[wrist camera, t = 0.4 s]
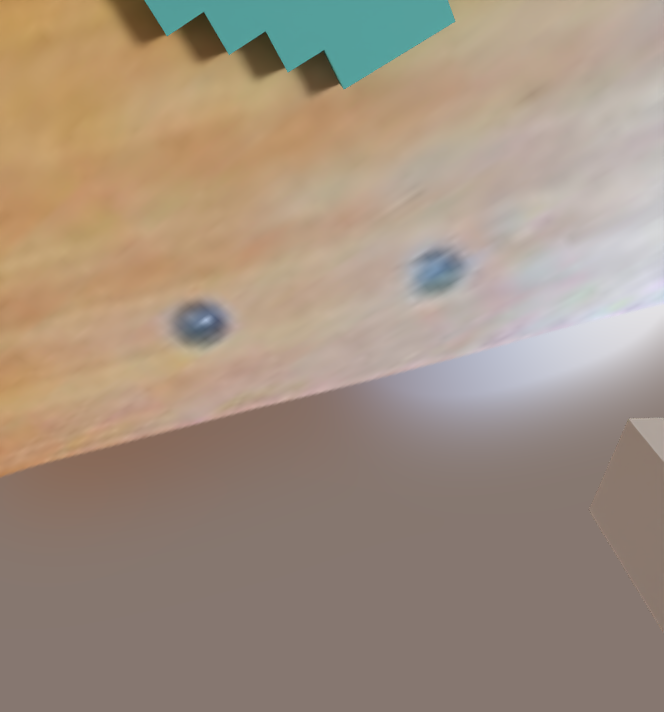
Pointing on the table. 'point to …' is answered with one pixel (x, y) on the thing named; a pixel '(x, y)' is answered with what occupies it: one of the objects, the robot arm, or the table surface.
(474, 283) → the table surface
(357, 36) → the alien figure
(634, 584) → the robot arm
